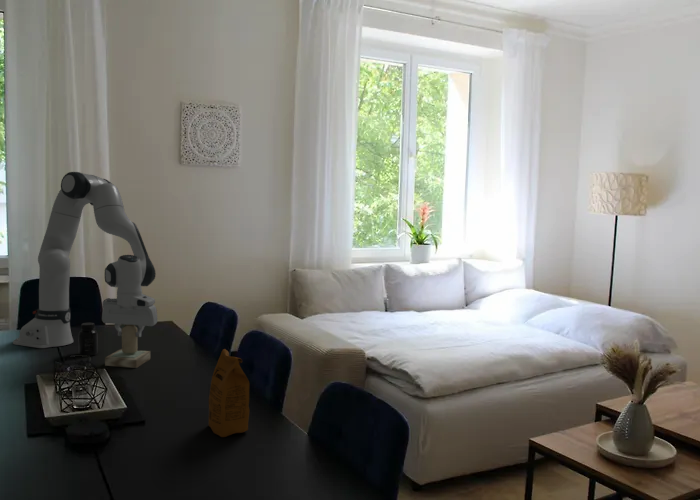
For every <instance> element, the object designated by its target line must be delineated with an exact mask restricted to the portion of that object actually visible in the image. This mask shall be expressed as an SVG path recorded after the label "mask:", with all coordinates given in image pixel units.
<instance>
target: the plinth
mask: <svg viewBox="0 0 700 500" xmlns="http://www.w3.org/2000/svg"><path fill="white" fill-rule="evenodd" d="M150 360H151V350H138V349H137V351H136V352H133V353H124V352H122V348H120V349H118V350H115V352H112V353H110V354H109V355H107V356H105V357H104V366H105V367H107V366H109V367H118V368H119V367H121V368H132V369H133V368H134V369H137V368H139V367H141V366H143V365H144V364H145V363H147V362H148V361H150Z"/></svg>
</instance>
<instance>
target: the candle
mask: <svg viewBox="0 0 700 500" xmlns="http://www.w3.org/2000/svg"><path fill="white" fill-rule="evenodd" d="M121 330H122V336H121V349H122V352H124V353H133V352H136V351H137V350H138V337H136V332H137V331H138V327H137V326H136V325H126V324H124V326H123V327H122V328H121Z"/></svg>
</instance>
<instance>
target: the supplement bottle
mask: <svg viewBox="0 0 700 500" xmlns="http://www.w3.org/2000/svg"><path fill="white" fill-rule="evenodd" d="M80 329H81V330H80V331H78V355H79V354H80V355H91V356H90V357H93V356H96V355H98V354H99V353H98V351H99V348H98V347H99V345H98V342H99V341H98V339H99V338H98V331H97V330H96V325H95V322H83V323H81V324H80ZM80 355H79V356H80Z"/></svg>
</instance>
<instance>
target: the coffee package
mask: <svg viewBox="0 0 700 500" xmlns="http://www.w3.org/2000/svg"><path fill="white" fill-rule="evenodd" d="M221 350H222V351H221V353H220V355H219V358H218V360H217V363H216V365H215V367H214V370H213V373H212V376H211V381H210V387H209V396H208V427H210V429H211V431H212V433H213V434H214V435H217V436H219V437H221V438H226V437H229V436H232V435H234V434H241V433H245V432H246V431H248V430H249V421H250V420H249V418H250V407H249V404H250V381H249V379H248V377H247V375H246V373H245V372H244V371H243V369H242V367H241V364H242V363H243V359H242V358H240V357H236V356H231V355H230V353H229V351H228V350H227V349H226V348H224V349H221Z"/></svg>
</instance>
